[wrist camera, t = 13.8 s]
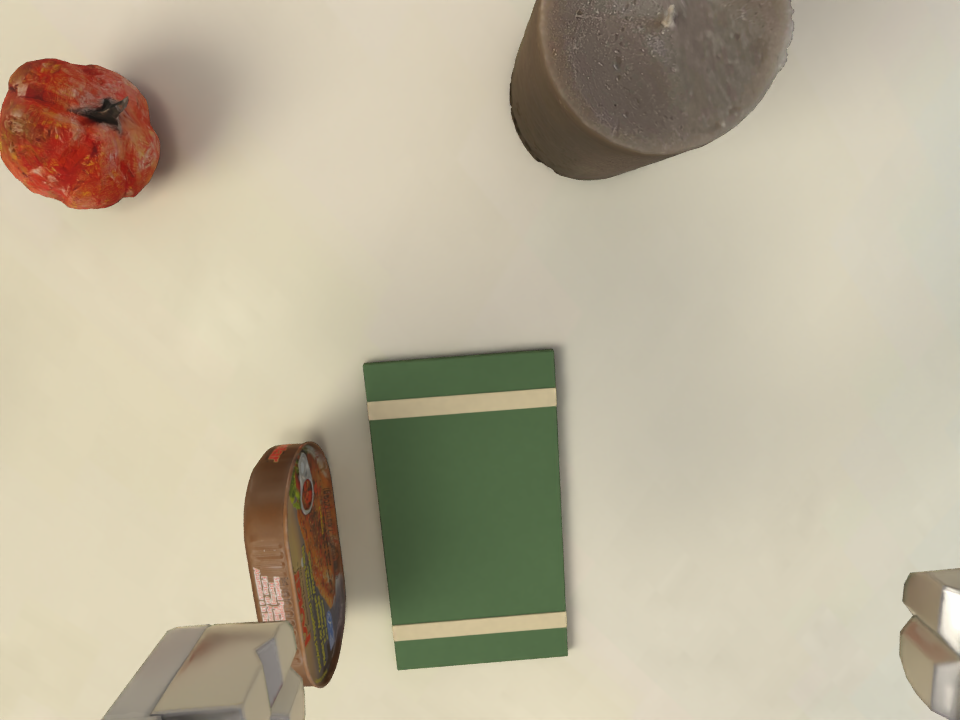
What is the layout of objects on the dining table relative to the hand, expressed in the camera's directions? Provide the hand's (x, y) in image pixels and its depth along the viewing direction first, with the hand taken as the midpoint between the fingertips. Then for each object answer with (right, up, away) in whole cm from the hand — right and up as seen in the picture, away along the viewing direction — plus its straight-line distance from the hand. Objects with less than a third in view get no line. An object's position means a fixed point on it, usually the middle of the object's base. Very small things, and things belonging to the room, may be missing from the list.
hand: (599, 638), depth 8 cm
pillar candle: (+5, +19, +29) cm, 35 cm away
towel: (-2, -7, +34) cm, 35 cm away
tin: (-13, -8, +34) cm, 37 cm away
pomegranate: (-23, +16, +28) cm, 40 cm away
